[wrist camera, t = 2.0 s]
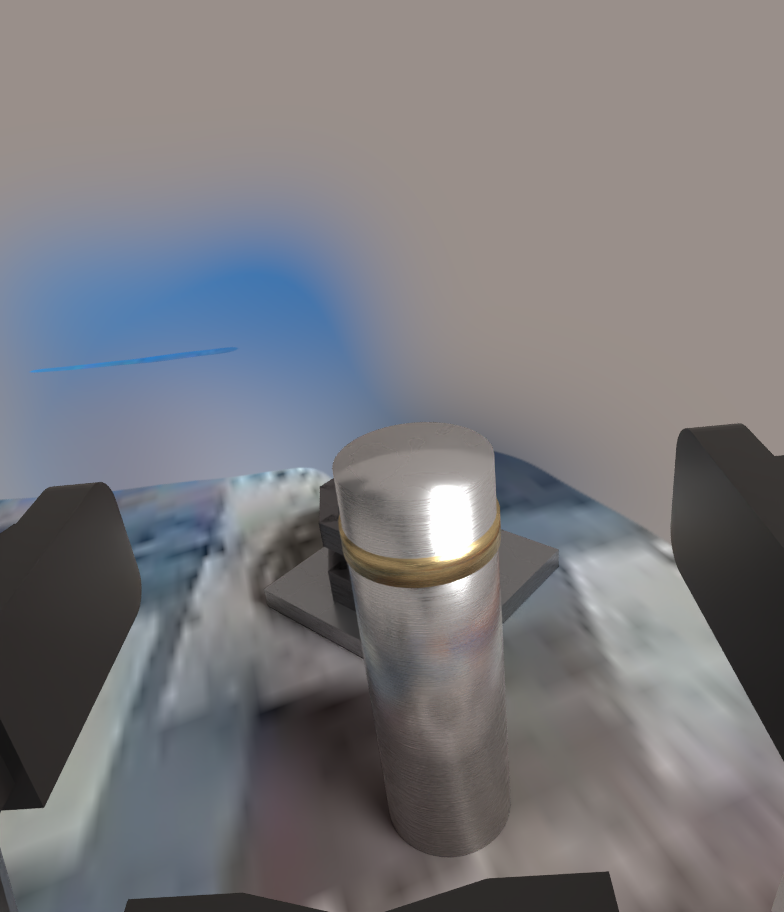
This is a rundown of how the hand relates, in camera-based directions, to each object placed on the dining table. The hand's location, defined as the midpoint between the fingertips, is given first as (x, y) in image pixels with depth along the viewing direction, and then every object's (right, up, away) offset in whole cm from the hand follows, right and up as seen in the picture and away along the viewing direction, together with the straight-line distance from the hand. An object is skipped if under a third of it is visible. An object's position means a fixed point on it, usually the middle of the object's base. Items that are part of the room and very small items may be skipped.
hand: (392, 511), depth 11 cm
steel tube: (+2, -13, +20) cm, 24 cm away
